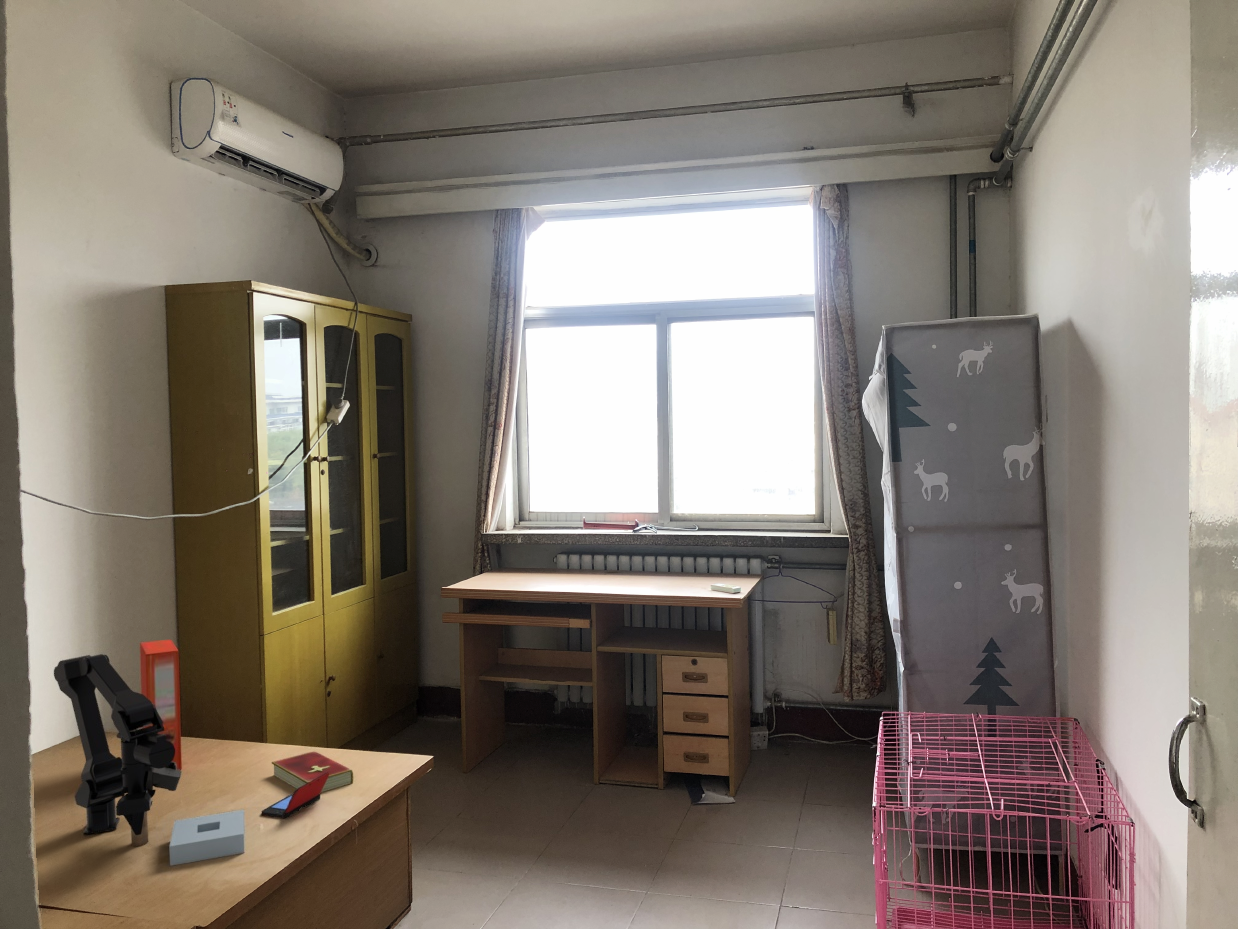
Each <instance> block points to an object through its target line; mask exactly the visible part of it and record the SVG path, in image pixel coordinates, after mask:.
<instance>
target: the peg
mask: <svg viewBox="0 0 1238 929" xmlns="http://www.w3.org/2000/svg"><path fill="white" fill-rule="evenodd" d="M148 826H149V825H148V811H147V812H145V815H144V821H143V827H142V833H141V835H135V833H134V832H133V830H132V828H131V827H130V829H131V830H130V837H131V840H130V841H131V846H132V847H141V846H145V845H146V844H148V842H149V829H148V828H149V827H148Z"/></svg>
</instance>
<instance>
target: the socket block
mask: <svg viewBox="0 0 1238 929" xmlns="http://www.w3.org/2000/svg"><path fill="white" fill-rule="evenodd" d="M245 822H246V821H245V809H238V810H233V811H227V812H221V813H219V812H218V813H215V814H207V815H202V816H197V817H189V818H182V819H178V820H177V819H176V820H174V822H173V828H172V833H171V837H170V841H169V866H170V867H172V866H177V865H181V864H182V865H184V864H189V863H192V862H198V861H200V862H201V861H205V860H210V859H218V858H221V857H222V858H223V857H227V856H234V855H238V854H244V853H245V840H246V839H245V838H246V837H245V833H246V832H245V831H246V829H245V828H246V823H245Z"/></svg>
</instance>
